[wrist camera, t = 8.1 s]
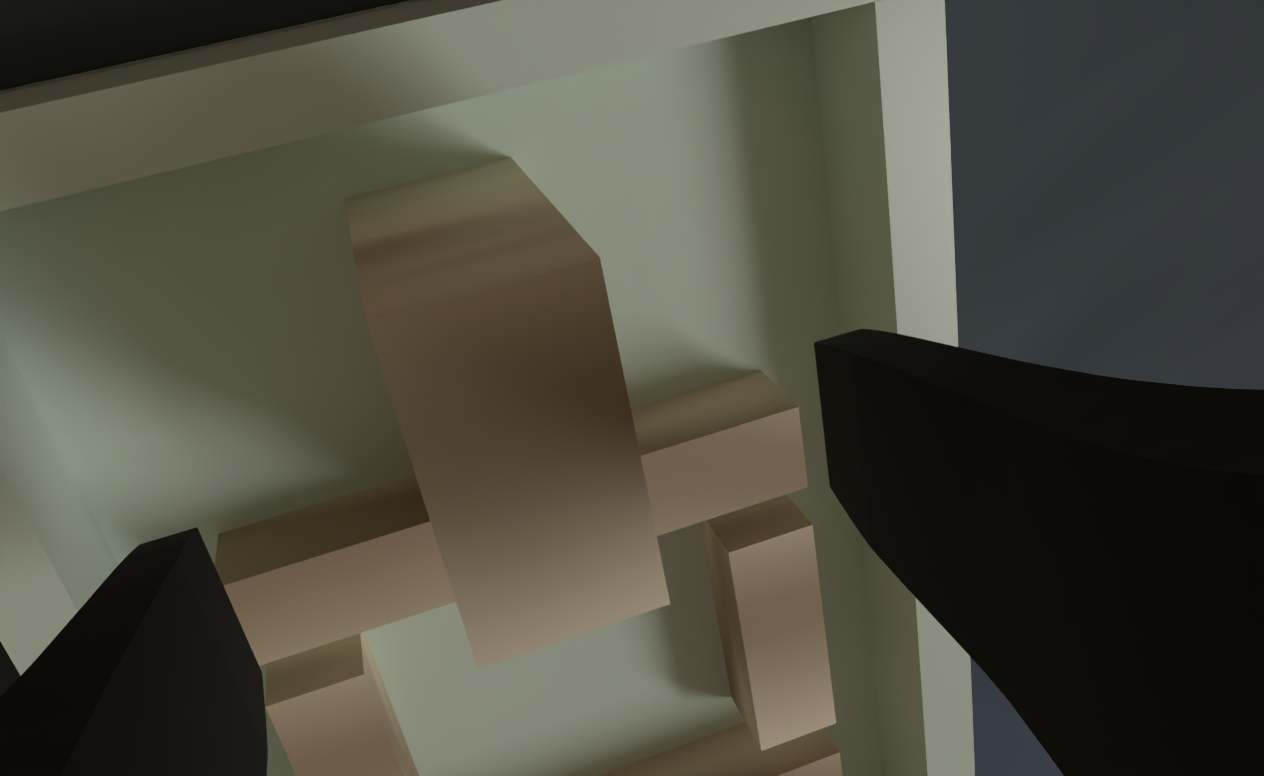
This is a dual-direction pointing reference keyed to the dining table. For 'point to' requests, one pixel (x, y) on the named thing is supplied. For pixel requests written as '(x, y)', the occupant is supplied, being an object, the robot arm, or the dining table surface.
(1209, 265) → the dining table surface
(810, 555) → the tan joined block frame
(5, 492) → the tray
